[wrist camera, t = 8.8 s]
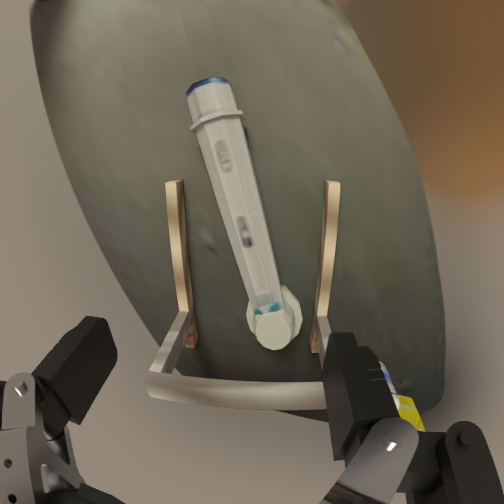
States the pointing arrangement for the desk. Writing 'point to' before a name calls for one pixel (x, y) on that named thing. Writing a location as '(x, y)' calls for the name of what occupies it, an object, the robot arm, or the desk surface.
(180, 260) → the tan holder stand
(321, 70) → the desk surface
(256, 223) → the white electric toothbrush
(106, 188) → the desk surface
